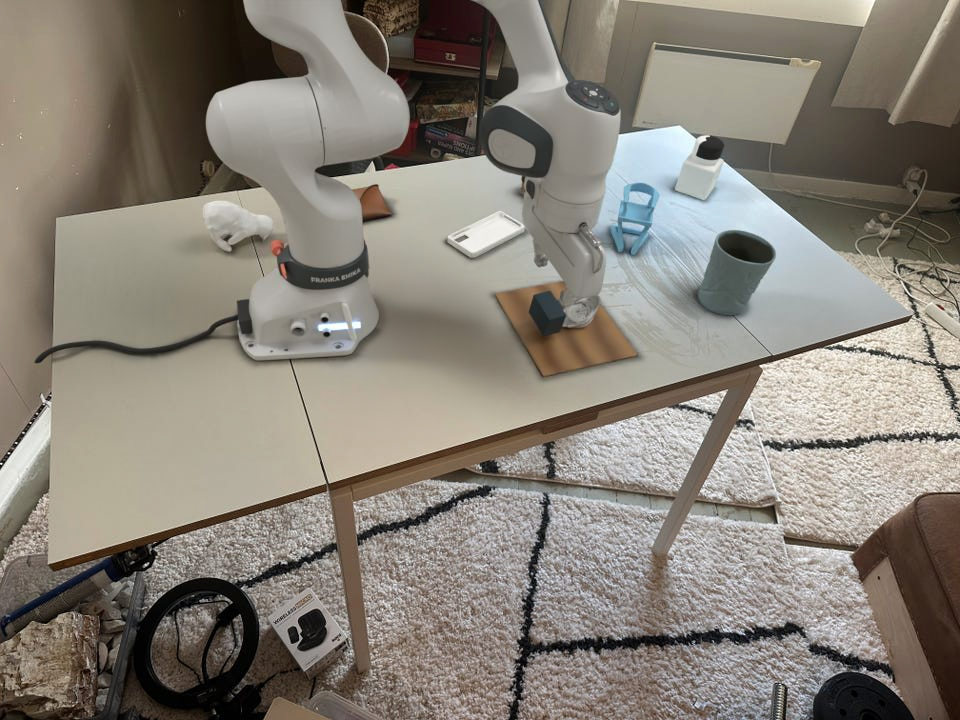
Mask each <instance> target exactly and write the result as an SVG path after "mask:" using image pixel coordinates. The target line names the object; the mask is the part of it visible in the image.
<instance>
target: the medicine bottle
mask: <svg viewBox="0 0 960 720" xmlns="http://www.w3.org/2000/svg"><path fill="white" fill-rule="evenodd" d="M724 148H725V143H724V141H723V140H722V139H721V138H718V137H716V136H714V135H709V134H708V135H707V134H706V135H700V136H698V137H697V138H696V139H695V142H694V145H693V149H692V151H691V153H690V154H689V155H688V156H687V157H686V158H685V160H684V161H683V162H682V165H681V168H680V171H679V175H678V178H677V181H676V183H675V187H674V190H675V192H679V193H681V194H684V195H687V196H690V197H693V198H696V199H698V200H702V201H705V200H706V199H707V198H708V196H709V195H710V194H711V192H712V191H713V190H714V188H715V186H716V185H717V181H718V178H719V176H720V173H721V170H722V167H723V164H724V161H725V160H724V159H723V158H721V156H722V155H723V154H722V153H723V151H724Z"/></svg>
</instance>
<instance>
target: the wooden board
mask: <svg viewBox="0 0 960 720" xmlns="http://www.w3.org/2000/svg"><path fill="white" fill-rule="evenodd" d="M563 290H567V288H566V284H565V282H564V281H563V280H562V281H558V282H557V281H556V282H551V283H546V284H540V285H535V286H529V287H525V288H519V289H513V290H507V291H506V290H505V291H501V292H496V293H494V295H495V297H496V300H497V301H498V303H499V304H500V306H501V308H502V309H503V311H504V313H505V314H506V316H507V319H509V321H510V322H511V324H512V326H513V328H514V329H515V331H516V333H517V335H518V336H519V338H520V340H521V342H522V344H523V345H524V346H525V349H526V350H527V351H528V353H529V355H530V357H531V359H532V360H533V362H534V364H535V365H536V367H537V369H538V371H539V372H540V374H541V376H542V377H543V378H547V377H551V376H555V375H559V374H564V373H568V372H572V371H578V370H581V369H586V368H592V367H596V366H600V365H605V364H609V363H613V362H618V361H622V360H626V359H631V358H635V357H638V352H636V350H635V349H634V347H633V346H632V344H631V343H630V342H629V341H628V340H627V338H626V337H625V335H624V334H623V332H622V331H621V330H620V328H619V327H618V326H617V324H615V322H614V321H613V320H612V318H611V316H610V315H609V314H608V313H607V312H606V310H605V308H604V307H603V306H602V305H601V304H600V305H599V307H598V311H597V312H596V314H595V315H594V318H593V320H592V321H591V322H590V323H589V324H588V325H586V326H584V327H581V328H576V327H573V328H568V327H562V329H561V331H560V332H559V333H555V334H552V335H548V336H545V337H543V335H542V333H541V332H540V330H539V328H538V327H537V325H536V324H535V322H534V320H533V319H532V317H531V315H530V314H529V309H530V305H531V302H532V299H533V295H535V294H539V293H542V292H546V291H551V292H552V294H553V295H554V297H555V298H556V300H558V299H559V296H560V293H561V291H563ZM589 298H590V297H589ZM566 308H567V307H566ZM566 308H565V309H566ZM565 309H563V311H564V310H565Z"/></svg>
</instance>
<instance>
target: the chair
mask: <svg viewBox="0 0 960 720" xmlns="http://www.w3.org/2000/svg"><path fill="white" fill-rule="evenodd" d="M631 192H632V193H633V192H637V193H643V194H646V195H649V196H651V197H650V198H649V200H648V203H647V204H640V203H636V202H635V203H634V202H632V201H629V200H630V193H631ZM660 196H661V194H660V192H659V191H658V190H657V189H656V188H654V186H651V185H650V184H648V183H645V182H633V183H629V184H626V185H625V186H623V199H621V200H620V203H619V209H618V216H617V224H611V225H610V233H611V235H612V238H613V241H614V242H615V245H616V249H617V252H618V253H623V252H624V251H623V250H624V247H625V246H624V245H625V244H624V234H623V233H627V234H634V235H638V237H637V239H636V241H634V243H633V245H632V247H631V250H630V254H631V255H633V256H634V255H636V253H637V251H638V250H639V249H640V248H641V247H642V245H643V244H644V243H645V242H646V241H647V240H648V238H649V235H650V231H649V230H650V228H652V225H653V219H654V211H655V210H656V206H657V203H658V201H659V199H660ZM623 223H631V224H636V225H640V226H643V229H638V228H632V227H631V228H630V227H626V226H623Z"/></svg>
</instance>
